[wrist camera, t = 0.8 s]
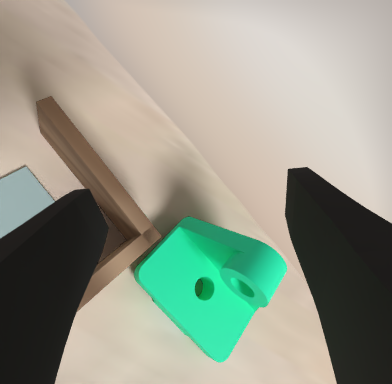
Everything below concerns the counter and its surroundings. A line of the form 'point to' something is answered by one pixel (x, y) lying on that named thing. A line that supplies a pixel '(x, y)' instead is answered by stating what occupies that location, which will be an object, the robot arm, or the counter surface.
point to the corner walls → (98, 195)
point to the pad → (20, 199)
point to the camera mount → (210, 282)
